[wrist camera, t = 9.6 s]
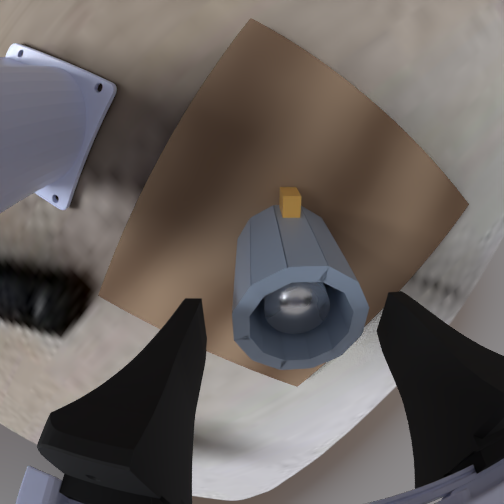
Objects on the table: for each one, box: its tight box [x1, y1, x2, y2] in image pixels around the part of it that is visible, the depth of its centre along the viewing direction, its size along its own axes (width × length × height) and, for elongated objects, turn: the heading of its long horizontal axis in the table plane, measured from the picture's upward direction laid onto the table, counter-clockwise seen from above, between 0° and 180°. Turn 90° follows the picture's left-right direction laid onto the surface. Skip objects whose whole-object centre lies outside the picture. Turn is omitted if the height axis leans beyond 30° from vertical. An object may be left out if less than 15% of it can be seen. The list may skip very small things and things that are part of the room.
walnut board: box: [98, 18, 469, 386], centre depth 16 cm, size 16×18×1 cm
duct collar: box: [232, 187, 369, 370], centre depth 13 cm, size 5×6×6 cm
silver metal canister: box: [264, 282, 330, 334], centre depth 14 cm, size 3×3×5 cm
